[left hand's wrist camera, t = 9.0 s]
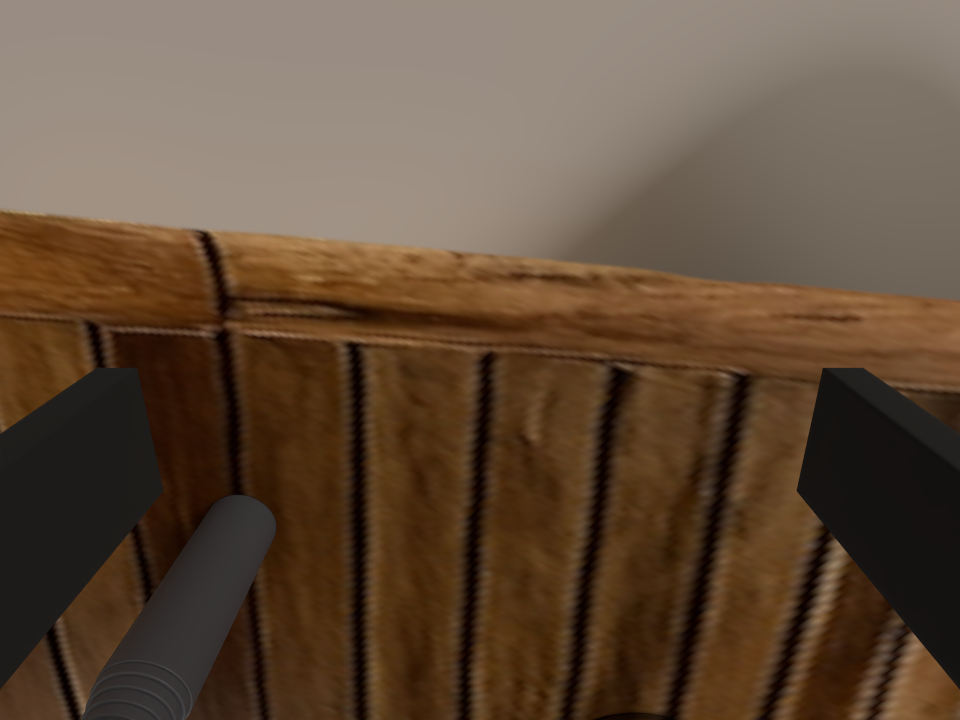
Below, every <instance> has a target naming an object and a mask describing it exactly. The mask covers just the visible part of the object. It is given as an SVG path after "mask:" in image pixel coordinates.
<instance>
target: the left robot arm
mask: <svg viewBox="0 0 960 720" xmlns="http://www.w3.org/2000/svg"><path fill="white" fill-rule="evenodd" d="M162 492H163V487H162V482H161V478H160V473H159V468H158V464H157V459H156V454H155V450H154V445H153V440H152V436H151V431H150V426H149V422H148V417H147V412H146V408H145V403H144V399H143V394H142V389H141V385H140V380H139V375H138V371H137V368H96V369H95V370H93V371H92V372H90V373H89V374H87V375H86V376H84V377H83V378H81V379H80V380H79V381H77V382H76V383H74V384H73V385H71V386H70V387H68V388H67V389H65V390H64V391H62V392H61V393H60V394H58V395H57V396H55V397H54V398H52V399H51V400H49V401H48V402H46V403H45V404H43V405H42V406H41V407H39V408H38V409H36V410H35V411H33V412H32V413H30V414H29V415H27V416H26V417H24V418H23V419H22V420H20V421H19V422H17V423H16V424H14V425H13V426H11V427H10V428H8V429H7V430H5V431H4V432H3V433H1V434H0V689H1V688H2V687H3V685H4V684H5V683H6V682H7V680H8V679H9V678H10V677H11V676H12V674H13V673H14V672H15V671H16V670H17V668H18V667H19V666H20V665H21V663H22V662H23V661H24V660H25V659H26V657H27V656H28V655H29V654H30V653H31V651H32V650H33V649H34V648H35V646H36V645H37V644H38V643H39V642H40V640H41V639H42V638H43V637H44V635H45V634H46V633H47V632H48V631H49V629H50V628H51V627H52V626H53V625H54V623H55V622H56V621H57V620H58V618H59V617H60V616H61V615H62V614H63V612H64V611H65V610H66V609H67V608H68V606H69V605H70V604H71V603H72V601H73V600H74V599H75V598H76V597H77V595H78V594H79V593H80V592H81V591H82V589H83V588H84V587H85V586H86V584H87V583H88V582H89V581H90V580H91V578H92V577H93V576H94V575H95V573H96V572H97V571H98V570H99V569H100V567H101V566H102V565H103V564H104V563H105V561H106V560H107V559H108V558H109V556H110V555H111V554H112V553H113V552H114V550H115V549H116V548H117V547H118V546H119V544H120V543H121V542H122V541H123V539H124V538H125V537H126V536H127V535H128V533H129V532H130V531H131V530H132V528H133V527H134V526H135V525H136V524H137V522H138V521H139V520H140V519H141V518H142V516H143V515H144V514H145V513H146V511H147V510H148V509H149V508H150V507H151V505H152V504H153V503H154V502H155V501H156V499H157V498H158V497H159V496H160V494H161V493H162ZM797 492H798V493H799V494H800V496H801V497H802V498H803V499H804V501H805V502H806V503H807V504H808V505H809V507H810V508H811V509H812V510H813V511H814V513H815V514H816V515H817V516H818V518H819V519H820V520H821V521H822V522H823V524H824V525H825V526H826V527H827V528H828V530H829V531H830V532H831V533H832V535H833V536H834V537H835V538H836V539H837V541H838V542H839V543H840V544H841V546H842V547H843V548H844V549H845V550H846V552H847V553H848V554H849V555H850V556H851V558H852V559H853V560H854V561H855V563H856V564H857V565H858V566H859V567H860V569H861V570H862V571H863V572H864V573H865V575H866V576H867V577H868V578H869V580H870V581H871V582H872V583H873V584H874V586H875V587H876V588H877V589H878V591H879V592H880V593H881V594H882V595H883V597H884V598H885V599H886V600H887V601H888V603H889V604H890V605H891V606H892V608H893V609H894V610H895V611H896V612H897V614H898V615H899V616H900V617H901V618H902V620H903V621H904V622H905V623H906V625H907V626H908V627H909V628H910V629H911V631H912V632H913V633H914V634H915V635H916V637H917V638H918V639H919V640H920V642H921V643H922V644H923V645H924V646H925V648H926V649H927V650H928V651H929V653H930V654H931V655H932V656H933V657H934V659H935V660H936V661H937V662H938V663H939V665H940V666H941V667H942V668H943V670H944V671H945V672H946V673H947V674H948V676H949V677H950V678H951V679H952V680H953V682H954V683H955V684H956V685H957V687H958V688H959V689H960V434H959V433H957V432H956V431H955V430H953V429H952V428H950V427H949V426H947V425H946V424H944V423H943V422H941V421H940V420H938V419H937V418H936V417H934V416H933V415H931V414H930V413H928V412H927V411H925V410H924V409H922V408H921V407H919V406H918V405H917V404H915V403H914V402H912V401H911V400H909V399H908V398H906V397H905V396H903V395H902V394H900V393H899V392H898V391H896V390H895V389H893V388H892V387H890V386H889V385H887V384H886V383H884V382H883V381H881V380H880V379H879V378H877V377H876V376H874V375H873V374H871V373H870V372H868V371H867V370H865V369H864V368H823V371H822V375H821V380H820V385H819V389H818V394H817V399H816V403H815V408H814V412H813V417H812V422H811V426H810V431H809V436H808V440H807V445H806V450H805V454H804V459H803V464H802V468H801V473H800V478H799V482H798V487H797ZM601 720H675V719H672V718H668V717H665V716H659V715H653V714H624V715H617V716H612V717H608V718H604V719H601Z"/></svg>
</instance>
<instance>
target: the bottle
mask: <svg viewBox="0 0 960 720" xmlns="http://www.w3.org/2000/svg"><path fill="white" fill-rule="evenodd" d="M275 533H276V522H275V518H274V516H273V514H272V512H271V511H270V510H269V509H268V508H267V506H265V505H264V504H263V503H262V502H260V501H258V500H256V499H254V498H252V497H248V496H244V495H231V496H227V497H224V498H222V499H220V500H218V501H217V502H215V503H214V504H213V506H212V507H211V508H210V510H209V511H208V513H207V514H206V516H205V517H204V519H203V520H202V522H201V523H200V525H199V526H198V528H197V529H196V531H195V532H194V534H193V535H192V537H191V538H190V540H189V541H188V543H187V544H186V546H185V547H184V549H183V550H182V552H181V553H180V555H179V556H178V558H177V559H176V561H175V562H174V563H173V565H172V566H171V568H170V569H169V571H168V572H167V574H166V575H165V577H164V578H163V580H162V581H161V583H160V584H159V586H158V587H157V589H156V590H155V592H154V593H153V595H152V596H151V598H150V599H149V601H148V602H147V604H146V605H145V607H144V608H143V610H142V611H141V613H140V614H139V616H138V617H137V619H136V620H135V622H134V623H133V625H132V626H131V628H130V629H129V631H128V632H127V634H126V635H125V637H124V638H123V640H122V641H121V643H120V644H119V646H118V647H117V649H116V650H115V652H114V653H113V655H112V656H111V658H110V659H109V661H108V662H107V664H106V665H105V666H104V668H103V669H102V671H101V672H100V674H99V676H98V677H97V680H96V682H95V684H94V686H93V688H92V690H91V692H90V698H89V700H88V702H87V704H86V709H85V712H84V714H83V716H82V720H185V719H186V718H187V716H188V715H189V714H190V712H191V710H192V707H193V705H194V703H195V701H196V699H197V697H198V695H199V693H200V691H201V689H202V687H203V684H204V682H205V680H206V678H207V676H208V674H209V672H210V670H211V668H212V666H213V663H214V661H215V659H216V657H217V655H218V653H219V651H220V649H221V647H222V645H223V643H224V640H225V638H226V636H227V634H228V632H229V630H230V628H231V626H232V624H233V622H234V620H235V617H236V615H237V613H238V611H239V609H240V607H241V605H242V603H243V601H244V599H245V597H246V594H247V592H248V590H249V588H250V586H251V584H252V582H253V580H254V578H255V576H256V574H257V571H258V569H259V567H260V565H261V563H262V561H263V559H264V557H265V555H266V553H267V551H268V548H269V546H270V544H271V542H272V540H273V538H274V536H275Z"/></svg>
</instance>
